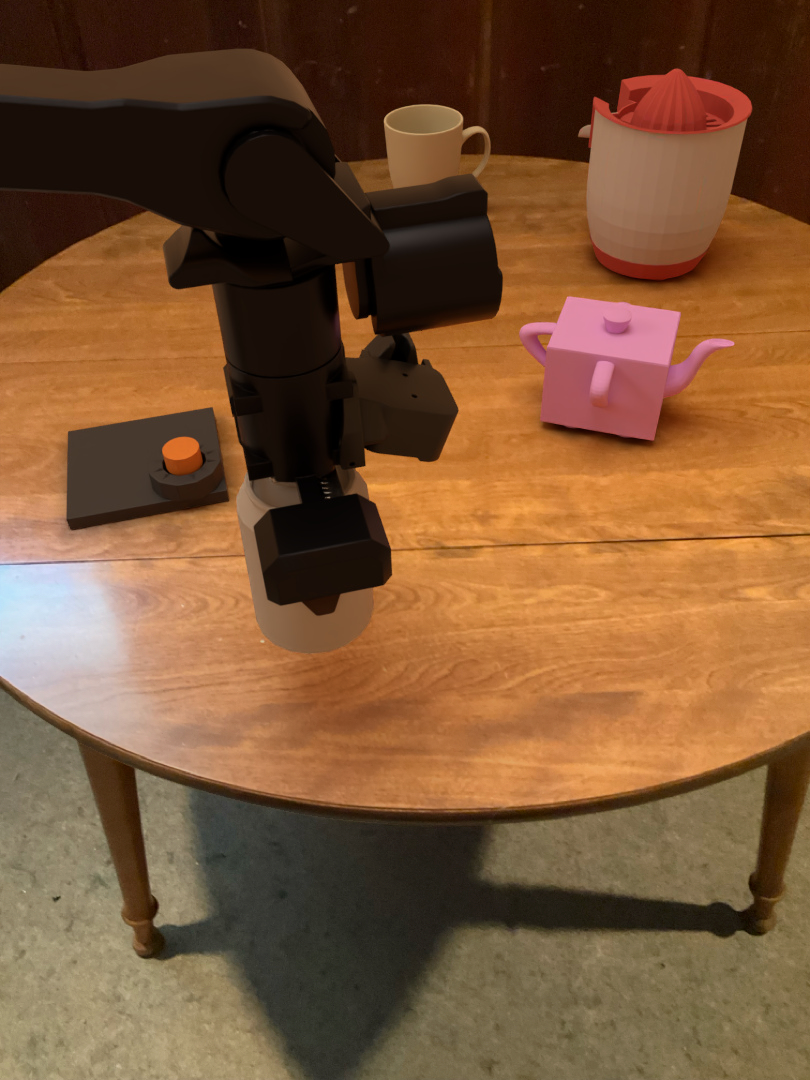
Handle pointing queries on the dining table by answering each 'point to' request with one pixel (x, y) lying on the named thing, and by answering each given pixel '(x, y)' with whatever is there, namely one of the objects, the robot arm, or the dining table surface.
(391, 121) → the mug
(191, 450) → the button
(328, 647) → the can
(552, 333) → the teapot
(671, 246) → the citrus juicer
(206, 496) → the dark grey flat block
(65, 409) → the dining table surface
